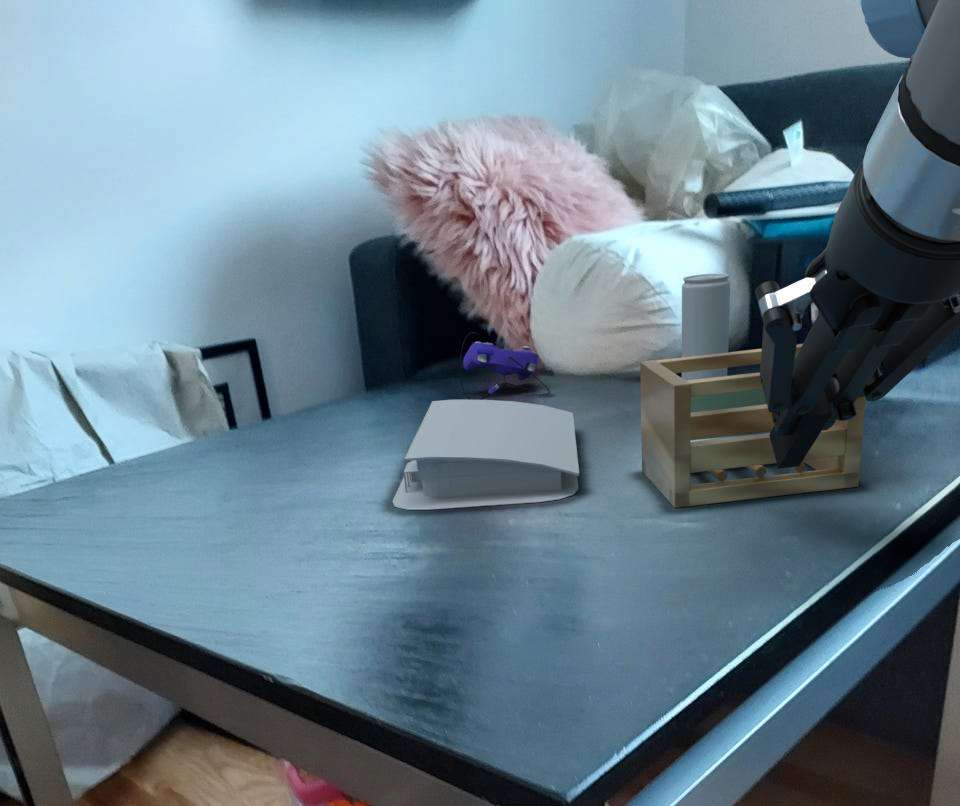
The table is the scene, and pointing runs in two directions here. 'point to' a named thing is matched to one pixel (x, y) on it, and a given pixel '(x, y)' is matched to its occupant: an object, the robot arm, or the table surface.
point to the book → (489, 456)
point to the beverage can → (705, 320)
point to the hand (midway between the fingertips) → (784, 450)
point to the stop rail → (727, 400)
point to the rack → (676, 426)
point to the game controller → (500, 362)
